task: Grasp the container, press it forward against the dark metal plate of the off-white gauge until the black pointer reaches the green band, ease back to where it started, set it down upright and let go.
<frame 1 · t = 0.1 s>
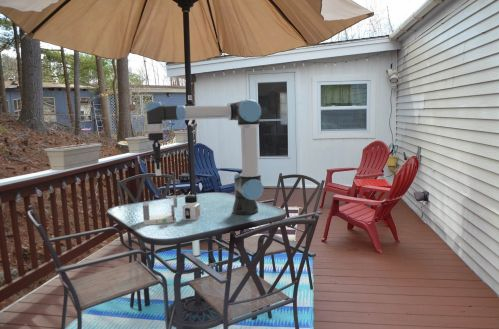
hand: (158, 173, 195), 28 cm above the table, tool pointing down, fingers open, 13 cm apart
gauge base: (160, 221, 208), on the table
gauge plate: (174, 207, 209), point 7 cm above the table, slide at 0.0 cm
container: (191, 218, 213), on the table
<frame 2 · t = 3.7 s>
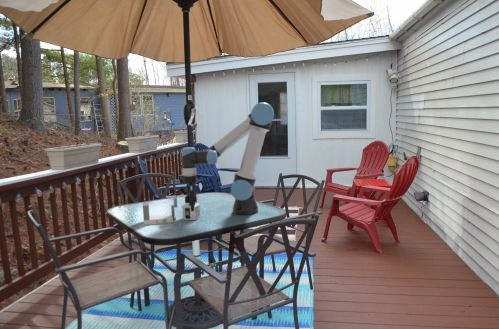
hand: (191, 214, 213), 2 cm above the table, tool pointing down, fingers closed on container, 10 cm apart
container: (191, 218, 213), on the table, touching gripper
everything else where it was.
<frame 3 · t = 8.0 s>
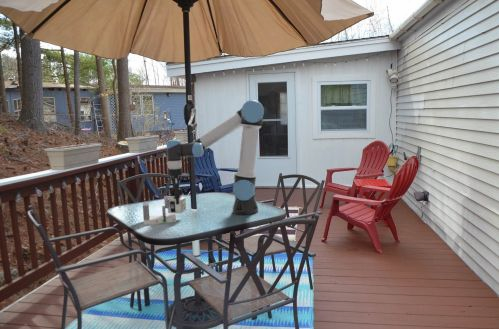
hand: (177, 207, 210), 7 cm above the table, tool pointing down, fingers closed on container, 10 cm apart
gauge plate: (165, 208, 208), point 7 cm above the table, slide at 4.9 cm, touching container
container: (177, 212, 210), point 4 cm above the table, touching gauge plate, gripper
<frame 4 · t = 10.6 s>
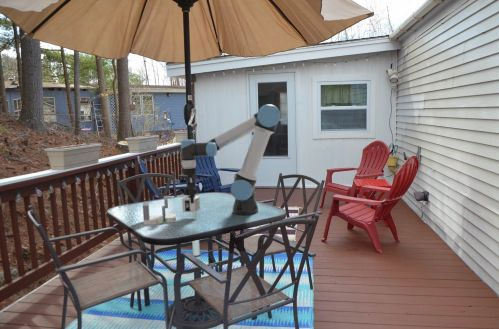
hand: (191, 206, 212), 7 cm above the table, tool pointing down, fingers closed on container, 10 cm apart
gauge plate: (164, 208, 208), point 7 cm above the table, slide at 5.0 cm
container: (191, 211, 212), point 4 cm above the table, touching gripper
when the fingers open (3 cm above the table, at t = 13.0 s): container stays where it is, on the table.
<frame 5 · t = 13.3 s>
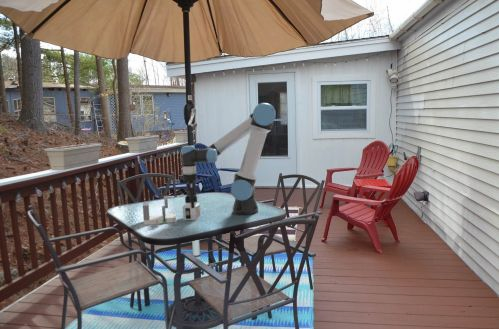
hand: (191, 210, 212), 4 cm above the table, tool pointing down, fingers open, 13 cm apart
container: (192, 218, 213), on the table
everything else where it was.
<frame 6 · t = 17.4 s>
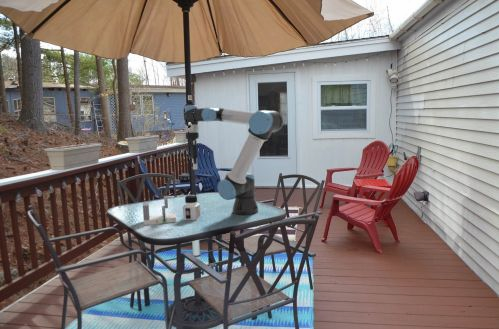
hand: (193, 168, 223), 27 cm above the table, tool pointing down, fingers open, 13 cm apart
nothing on the table moved.
at the end: gauge plate slide at 5.0 cm; the gripper is holding nothing; container tilted 0° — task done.
